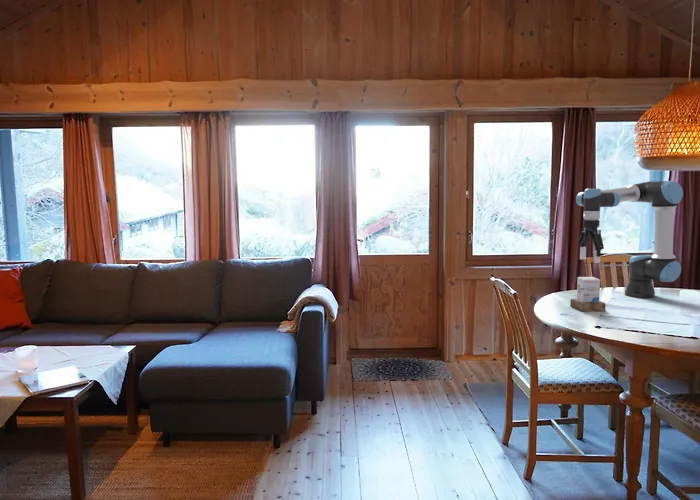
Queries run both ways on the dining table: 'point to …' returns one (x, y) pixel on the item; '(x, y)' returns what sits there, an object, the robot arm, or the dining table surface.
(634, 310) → the dining table surface
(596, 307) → the walnut frame
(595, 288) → the ink box
